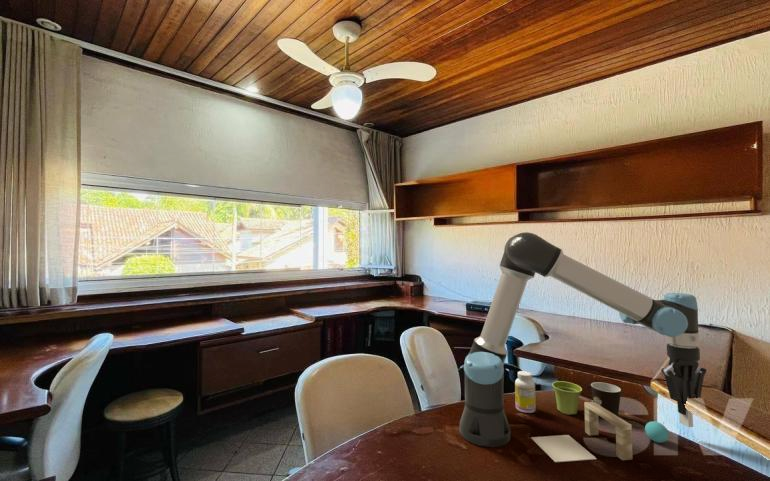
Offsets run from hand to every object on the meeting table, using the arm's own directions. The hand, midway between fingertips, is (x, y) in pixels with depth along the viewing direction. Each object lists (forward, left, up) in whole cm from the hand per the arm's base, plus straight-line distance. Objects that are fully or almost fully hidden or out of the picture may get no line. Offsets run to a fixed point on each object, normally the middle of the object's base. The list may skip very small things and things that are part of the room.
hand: (686, 424), depth 102 cm
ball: (-10, 0, -2) cm, 10 cm away
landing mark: (-40, 0, -4) cm, 40 cm away
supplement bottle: (-38, +24, -5) cm, 45 cm away
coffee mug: (-13, +17, -5) cm, 22 cm away
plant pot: (-24, +21, -5) cm, 32 cm away
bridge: (-26, 0, -4) cm, 26 cm away
